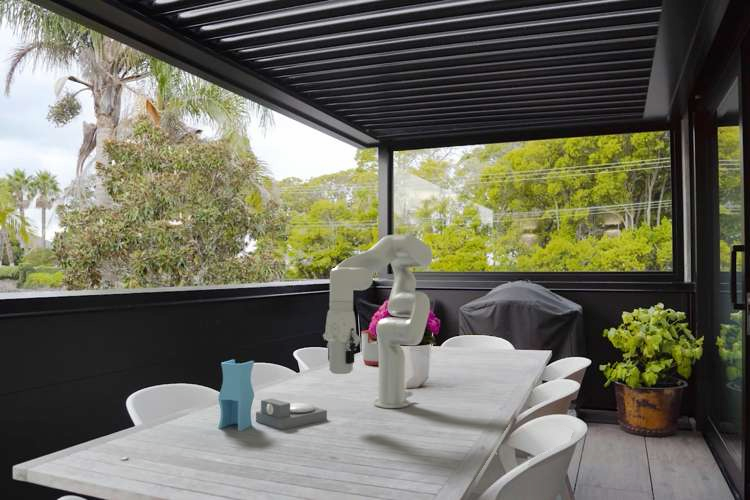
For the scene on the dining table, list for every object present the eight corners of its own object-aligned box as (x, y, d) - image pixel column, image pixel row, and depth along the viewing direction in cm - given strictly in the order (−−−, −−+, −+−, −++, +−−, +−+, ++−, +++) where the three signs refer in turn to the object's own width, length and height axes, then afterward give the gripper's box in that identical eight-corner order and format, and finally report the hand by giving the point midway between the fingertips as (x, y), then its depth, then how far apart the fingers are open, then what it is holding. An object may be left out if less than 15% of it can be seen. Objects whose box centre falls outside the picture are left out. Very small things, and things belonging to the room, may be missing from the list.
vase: (253, 424, 191) (254, 360, 192) (240, 430, 184) (241, 364, 184) (232, 422, 194) (232, 359, 194) (218, 428, 186) (218, 363, 187)
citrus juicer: (357, 366, 306) (357, 326, 306) (363, 361, 323) (364, 323, 323) (388, 367, 303) (388, 327, 304) (392, 362, 320) (393, 324, 321)
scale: (300, 412, 208) (300, 391, 208) (326, 419, 198) (327, 398, 198) (255, 421, 195) (256, 399, 195) (282, 429, 185) (282, 406, 186)
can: (349, 374, 189) (350, 336, 189) (326, 374, 191) (326, 335, 191) (355, 370, 197) (355, 333, 197) (332, 370, 198) (332, 333, 198)
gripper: (314, 305, 197) (314, 360, 197) (352, 308, 185) (351, 366, 185) (331, 304, 203) (331, 357, 202) (369, 307, 191) (368, 363, 190)
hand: (341, 361), depth 194 cm, fingers closed on can, 7 cm apart
